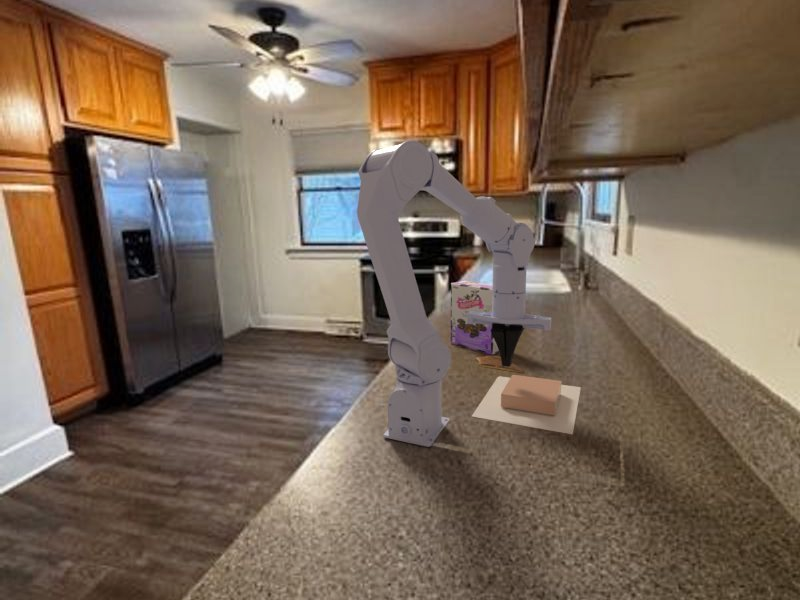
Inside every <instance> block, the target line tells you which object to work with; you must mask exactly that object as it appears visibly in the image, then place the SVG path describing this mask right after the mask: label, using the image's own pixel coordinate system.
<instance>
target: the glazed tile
mask: <svg viewBox="0 0 800 600" xmlns="http://www.w3.org/2000/svg"><path fill="white" fill-rule="evenodd" d="M509 378H510V380H509V381H508V383H507V385H506V386H505V388H504V390H503V391H502V393H501V407H505V408H509V409H516V410H522V411H528V412H534V413H540V414H546V415H552V416H555V414H556V410H557V407H558V403H559V399H560V396H561V385H562V383H563V382H562V381H563V380H556V379H548V378H540V377H534V376H533V377H532V376H525V375H519V374H517V375H516V374H512V375H511V376H510V377H509Z"/></svg>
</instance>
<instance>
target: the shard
mask: <svg viewBox="0 0 800 600" xmlns="http://www.w3.org/2000/svg"><path fill="white" fill-rule="evenodd" d="M475 359H476V360H477V361H478V363H479V364H478V367H481V368H482V367H483V368H489V369H496V370H502V371H508V372H513V373H514V372H515V373H522V374H523V373H525V371H524V370H522V369H521V368H519V367H518V366H517V365H516V364H514V363H513V362H512V364H511V365H510V367H508V366H502V361H501V356H498V355H489V356H488V355H486V356H485V355H484V356H478V357H476V358H475Z"/></svg>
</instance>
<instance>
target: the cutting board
mask: <svg viewBox="0 0 800 600" xmlns="http://www.w3.org/2000/svg"><path fill="white" fill-rule="evenodd" d="M510 378H511V377H507V376H501V375H500V376H499V375H498V377H496V378H495V381H494V382H493V383H492V384H491V386H490V388H489V390H488V391H487V393H486V394H485V395H484V397H483V398H482V400H481V402H480V403H479V404H478V406H477V407H476V409H475V410H474V412H473V414H472V415H471V417H472V418H479V419H483V420H489V421H493V422H499V423H507V424H512V425H517V426H524V427H528V428H534V429H541V430H546V431H550V432H557V433H563V434H567V435H574V430H575V424H576V417H577V414H578V413H577V412H578V406H579V400H580V395H581V389H582V387H580V386H574V385H566V384H561V396H560V399H559V403H558V407H557V410H556V414H555V416H552V415H546V414H540V413H534V412H528V411H522V410H516V409H509V408H505V407H501V393H502V391H503V390H504V388H505V386H506V385H507V383H508V381H509V380H510Z"/></svg>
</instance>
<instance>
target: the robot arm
mask: <svg viewBox="0 0 800 600" xmlns="http://www.w3.org/2000/svg"><path fill="white" fill-rule="evenodd" d="M357 172H358V176H359V180H360V185H359V194H358V200H357V201H358V202H357V209H356V214H357V219H358V222H359V226H360V229H361V232H362V234H363V238H364V241H365V244H366V248H367V251H368V254H369V257H370V259H371V262H372V266H373V270H374V272H375V275H376V279H377V282H378V285H379V287H380V291H381V294H382V297H383V300H384V303H385V307H386V309H387V313H388V316H389V318H390V323H391V325H390V326H389V327H388V328H387V330H386V334H387V339H388V345H387V354H388V358H389V360H390V361H391V363H393V364H394V365H395V369H394V370H395V373H396V377H395V378H396V384H395V388H394V389H393V391H392V392H391V394H390V395H389V397H388V401H387V415H388V417H387V422H388V429H387V430H386V431H385V432H384V433H383V437H384V438H385V439H390V440H395V441H400V442H404V443H408V444H413V445H418V446H421V447H427V448H429V447H432V446H433V444H434V443H435V442H436V439H437V437H438V436H439V435H440V433H441V432H442V430H443V429H444V428H445V427H446V425H447V424H448V423H449V421H450V420H451V418H449V417H445V416H442V413H443V412H442V410H443V409H442V404H443V403H442V402H443V401H442V398H443V397H442V394H443V393H442V392H443V391H442V388H443V387H442V384H443V383H442V381H443V380H444V379H445V378H444V377H445V376H446V374H447V373H448V372H449V370H450V367H451V365H452V364H451V363H452V353H451V350H450V348H449V346H448V345H447V344H446V343H445V342H444V341H443V339H442V338H441V334H440V331H439V330H438V329H437V328H436V326H435V325H434V323H432V321H431V320H430V319H429V318H428V317H427V314H426V310H425V306H424V303H423V301H422V296H421V293H420V291H419V286H418V282H417V280H416V276H415V273H414V269H413V266H412V262H411V259H410V255H409V251H408V248H407V245H406V241H405V238H404V234H403V230H402V227H401V224H400V221H399V217H400V215H401V214H402V212H403V210H404V209H405V207H406V204H407V203H409V201H411V199H413V198H414V197H415V196H416V195H417V194H418V193H419V192H420V191H424V192H427V193H428V194H430V195H432V196H433V197H435V198H436V199H437V200H439V201H440V202H442V203H444V204H445V205H446V206H448V207H450V208H451V209H452V210H454V211H456V212H457V213H459V214H460V215H461V223H462V225H463V226H464V227H465V228H466V229H467V230H469V231H470V232H472V233H473V234H474V235H476V236H477V237H478V238H479V239H481V240H482V241H483V242H484V243H485V247H486V249H487V250H488V252H489V253H492V285H493V287H492V312H472V311H470V312H469V313H468V314H467V324H473V323H477V324H488V325H492V329H491V334H492V336H493V338H494V340H495V342H496V344H497V347H498V349H499V355H500V356H499V357H501V361H502V366H508V367H510V365H511V364H512V363H513V357H514V353H515V350H516V347H517V345H518V342H519V340H520V337H521V335H522V334H523V333H524V330H525V329H534V330H535V329H537V330H542V331H546V332H547V331H548V332H549V331H551V329H552V317H551V316H550V317H547V316H542V315H534V314H528V313H526V297H527V296H526V291H527V289H526V287H527V267H528V266H529V263H530V261H531V260H530V259H531V258H530V257H531V255H532V254H531V253H532V252H533V250H534V247H535V244H536V240H537V239H536V238H534V232H533V230H532V228H530V227H529V225H528V224H526V223H525V222H516V220H515V219H514V218H513V215H512V214H510V213H506V212H505V211H504V210H503V209H501V208H500V207H499V206H498V205H497V204H496V201H497V200H495V198H493V197H492V196H484V195H483V196H480V195H479V196H477V197H475V195H473V194H472V193H471V192H470V191H469V189H467V188H466V187H465V186H464V185H463V184H462V183H461V182H460V181H459V180H457V178H455V177H454V176H453V174H451V173H450V172H449V171H448V170H447V169H446V168H445V167H444V166H443V165H442V164H441V163H440V160H439V157H438V155H437V154H435V153H434V152H432V151H430V150H428V149H427V147H426V146H425V145H424V144H423V143H421V142H419V141H417V140H407V141H403V142H402V143H400V144H396V145H393V146H388V147H384V148H383V147H382V148H376V149H374V150H372V151H370V152H369V153H368V154H367V156H366V157H365V158H364V161H363V163H362V164H361V165H360V168H358V171H357Z"/></svg>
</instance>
